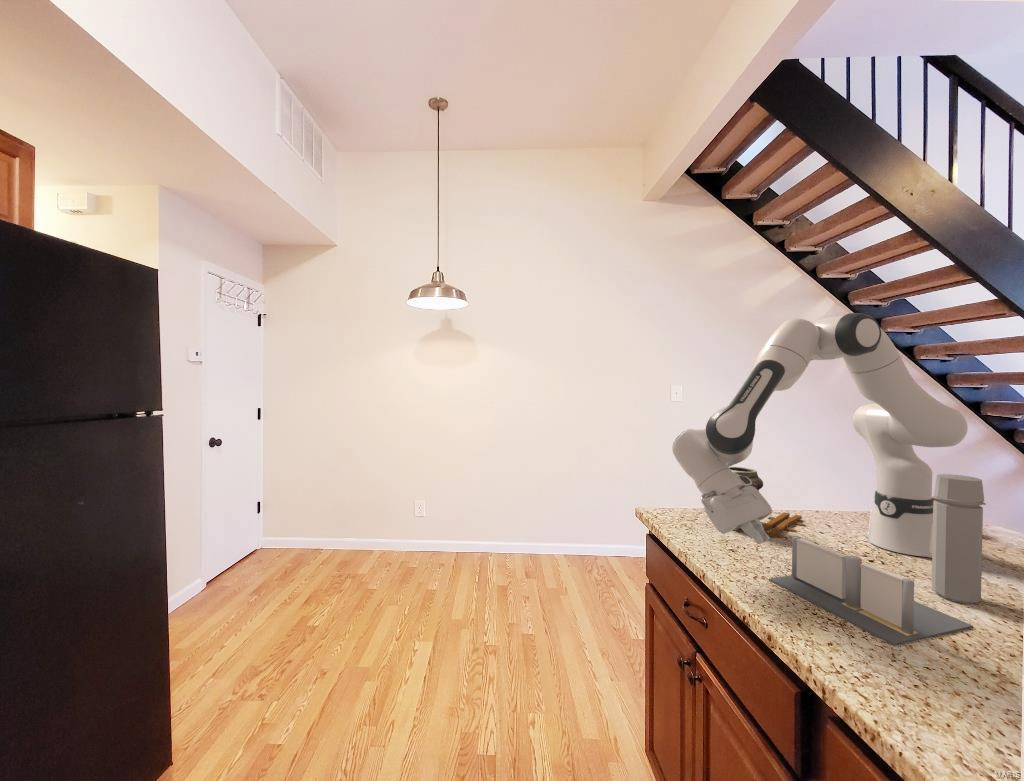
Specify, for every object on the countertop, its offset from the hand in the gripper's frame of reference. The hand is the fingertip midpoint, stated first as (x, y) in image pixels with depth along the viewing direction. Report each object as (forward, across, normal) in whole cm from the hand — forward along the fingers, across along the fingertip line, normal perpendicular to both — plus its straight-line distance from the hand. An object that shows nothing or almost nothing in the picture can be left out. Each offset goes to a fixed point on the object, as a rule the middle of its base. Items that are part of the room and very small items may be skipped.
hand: (764, 541), depth 96 cm
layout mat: (+17, +7, -5) cm, 19 cm away
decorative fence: (-3, +43, +17) cm, 47 cm away
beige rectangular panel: (+12, +5, 0) cm, 13 cm away
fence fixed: (+20, +1, -8) cm, 22 cm away
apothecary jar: (-8, +33, +22) cm, 40 cm away
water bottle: (+25, +26, -12) cm, 38 cm away
